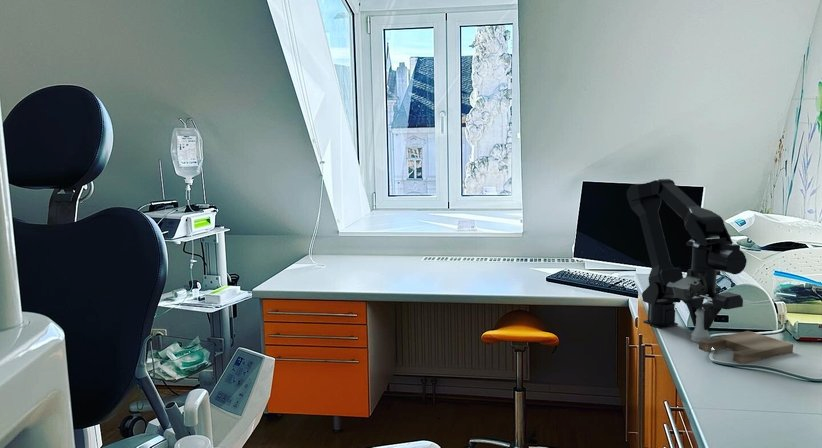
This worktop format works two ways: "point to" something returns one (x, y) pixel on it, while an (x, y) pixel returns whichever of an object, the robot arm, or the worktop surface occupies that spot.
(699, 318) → the rook chess piece
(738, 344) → the notched board
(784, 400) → the worktop surface
